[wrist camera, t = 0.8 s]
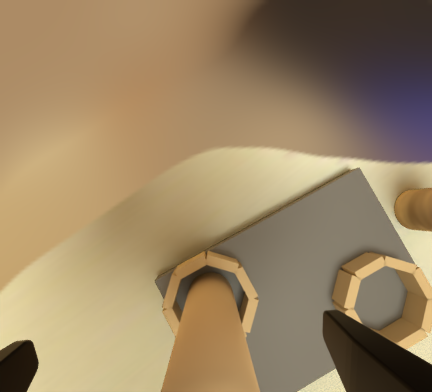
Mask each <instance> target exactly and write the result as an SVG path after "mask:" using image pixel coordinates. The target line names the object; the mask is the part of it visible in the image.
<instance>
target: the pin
mask: <svg viewBox="0 0 432 392" xmlns="http://www.w3.org/2000/svg"><path fill="white" fill-rule="evenodd" d="M394 210H395V215H396V218H397V220H398V221H399V222H400V224H402V225H403V226H404V227H406V228H408V229H412V230H422V231H432V188H424V189H414V190H408V191H405V192H403V193H402V194H401V195H400V196H399V197H398V198H397V200H396V202H395V207H394Z"/></svg>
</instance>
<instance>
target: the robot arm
mask: <svg viewBox="0 0 432 392" xmlns="http://www.w3.org/2000/svg"><path fill="white" fill-rule="evenodd" d="M322 333H323V339H324V341H325V344H326V346H327V348H328V351H329V353H330V355H331V358H332V360H333V362H334V365H335V367H336V369H337V372H338V374H339V376H340V378H341V381H342V383H343V385H344V388H345V390H346V392H432V364H430V363H428V362H426V361H425V360H423V359H421V358H420V357H418V356H416V355H414V354H413V353H411V352H409V351H408V350H406V349H404V348H402V347H401V346H399V345H397V344H396V343H394V342H392V341H391V340H389V339H387V338H385V337H384V336H382V335H380V334H379V333H377V332H375V331H373V330H372V329H370V328H368V327H367V326H365V325H363V324H361V323H360V322H358V321H356V320H355V319H353V318H351V317H349V316H348V315H346V314H344V313H343V312H341V311H339V310H336V309H334V310H325V311H324V312H323V328H322ZM38 364H39V362H38V358H37V354H36V351H35V347H34V344H33V342H32V341H31V340H22V341H16V342H14V343H12V344H10V345H8V346H7V347H5V348H4V349H2V350H0V392H27V390H28V388H29V386H30V384H31V382H32V380H33V378H34V376H35V374H36V372H37V369H38Z"/></svg>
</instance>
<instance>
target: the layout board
mask: <svg viewBox="0 0 432 392" xmlns="http://www.w3.org/2000/svg"><path fill="white" fill-rule="evenodd" d="M155 283H156V285H157V287H158V288H159V290H160V292H161V294H162V296H163V298H164V302H163V306H162V308H164V309H163V311H162V312H163V314H164V316H165V318H166V320H167V322H168V324H169V325H170V327H171V329H172V331H173V333H174V335H175V337H176V339H175V342H174V346H173V350H172V353H171V357H170V361H169V364H168V368H167V372H166V375H165V379H164V382H163V386H162V390H161V392H297V391H299V390H300V389H302V388H304V387H305V386H307V385H309V384H310V383H312V382H314V381H315V380H317V379H319V378H320V377H322V376H324V375H325V374H327V373H329V372H330V371H332V370H334V369H335V368H336V367H335V365H334V362H333V360H332V358H331V355H330V353H329V351H328V348H327V346H326V344H325V341H324V339H323V333H322V328H323V312H324V311H325V310H334V309H336V310H339V311H341V312H343V313H344V314H346V315H348V316H349V317H351V318H353V319H355V320H356V321H358V322H360V323H361V324H363V325H365V326H367V327H368V328H370V329H372V330H373V331H375V332H377V333H379V334H380V335H382V336H384V337H385V338H387V339H389V340H391V341H392V342H394V343H396V344H397V345H399V346H401V347H402V348H404V349H408V348H409V347H411V346H413V345H414V344H416V343H418V342H419V341H421V340H423V339H424V338H426V337H428V336H427V334H426V332H428V333H430V331H431V327H432V287H431V286H430V284H429V282H428V280H427V279H426V277H425V275H424V274H423V272H422V270H421V268H420V267H417V265H415V263H414V261H413V259H412V258H411V256H410V254H409V252H408V251H407V249H406V247H405V246H404V244H403V242H402V240H401V239H400V237H399V235H398V233H397V232H396V230H395V228H394V227H393V225H392V223H391V221H390V220H389V218H388V216H387V214H386V213H385V211H384V209H383V207H382V206H381V204H380V202H379V201H378V199H377V197H376V195H375V194H374V192H373V190H372V188H371V187H370V185H369V183H368V182H367V180H366V178H365V176H364V175H363V173H362V171H361V169H360V168H356V169H353V170H350V171H348V172H346V173H344V174H342V175H341V176H339V177H337V178H335V179H333V180H332V181H330V182H328V183H326V184H324V185H323V186H321V187H319V188H317V189H315V190H314V191H312V192H310V193H308V194H306V195H305V196H303V197H301V198H299V199H297V200H295V201H294V202H292V203H290V204H288V205H286V206H285V207H283V208H281V209H279V210H277V211H276V212H274V213H272V214H270V215H268V216H267V217H265V218H263V219H261V220H259V221H258V222H256V223H254V224H252V225H250V226H249V227H247V228H245V229H243V230H241V231H239V232H238V233H236V234H234V235H232V236H230V237H229V238H227V239H225V240H223V241H221V242H220V243H218V244H216V245H214V246H212V247H211V248H209V249H207V250H205V251H203V252H202V253H200V254H198V255H196V256H194V257H192V258H191V259H189V260H187V261H185V262H183V263H182V264H180V265H178V266H176V267H174V268H173V269H171V270H169V271H167V272H165V273H164V274H162V275H160V276H158V277H157V279H156V280H155Z"/></svg>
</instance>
